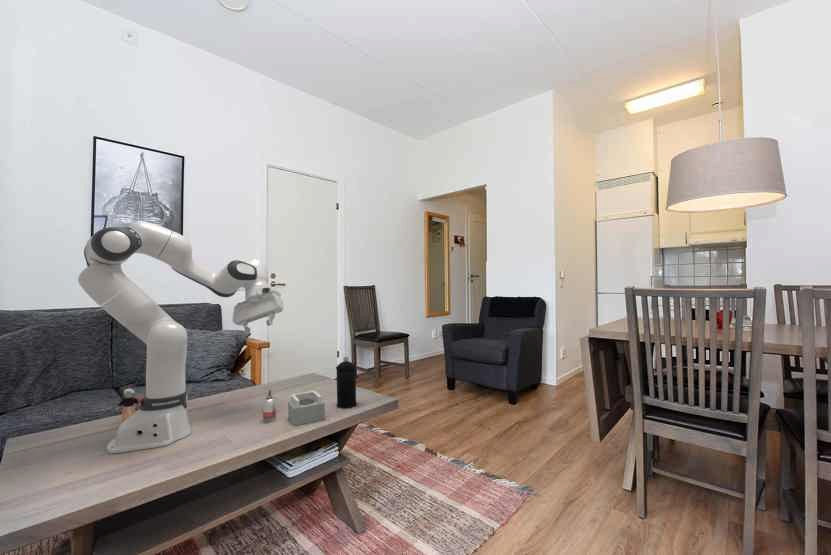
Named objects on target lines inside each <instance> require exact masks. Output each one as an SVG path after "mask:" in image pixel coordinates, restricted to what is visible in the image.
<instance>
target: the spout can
mask: <svg viewBox="0 0 831 555" xmlns="http://www.w3.org/2000/svg"><path fill="white" fill-rule="evenodd" d="M275 421H277V397H275V396H273V394H272V389H269V390H268V393H267V394H266V395H265V397H264V398H262V422H263V423H264V424H267V423H274V422H275Z"/></svg>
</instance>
